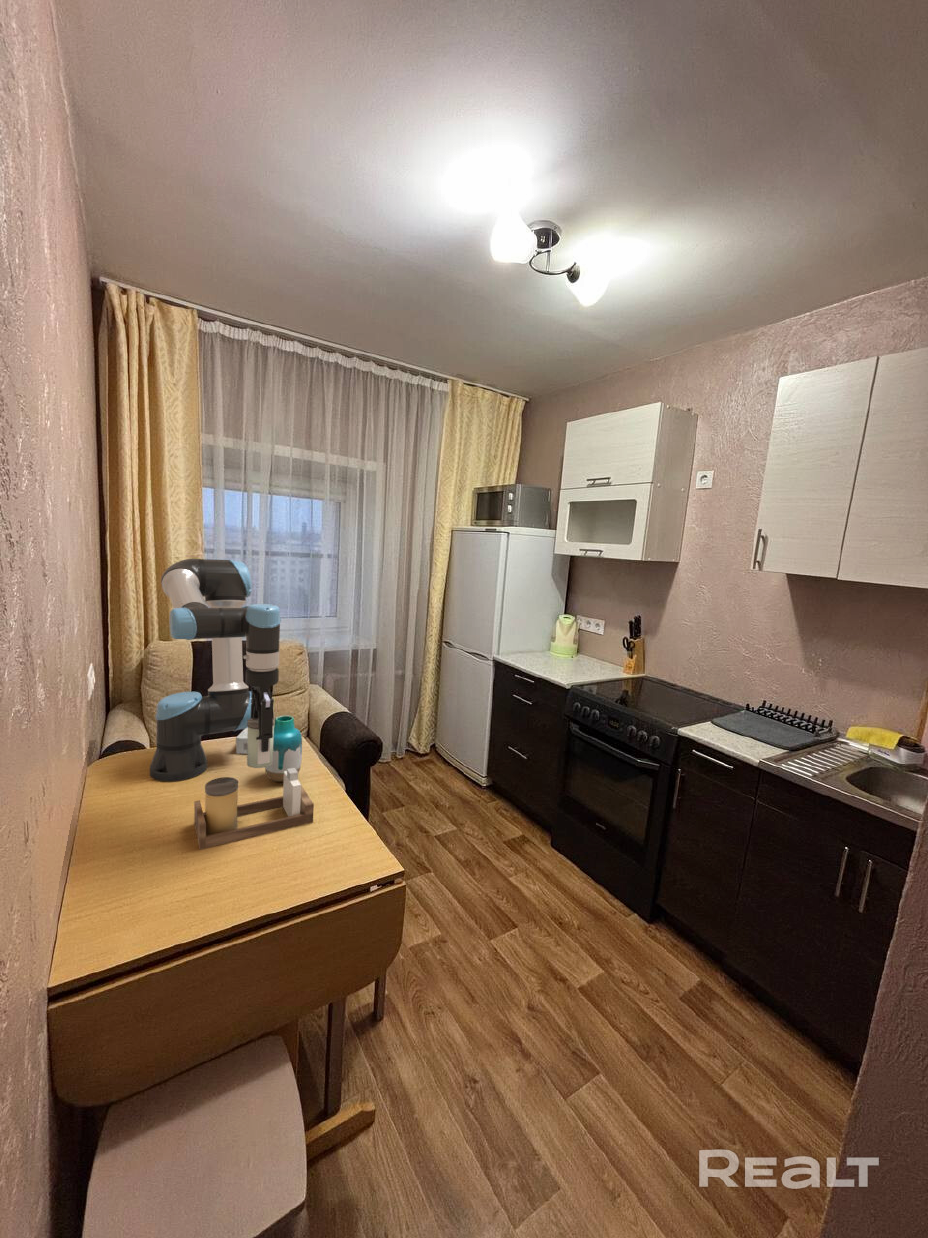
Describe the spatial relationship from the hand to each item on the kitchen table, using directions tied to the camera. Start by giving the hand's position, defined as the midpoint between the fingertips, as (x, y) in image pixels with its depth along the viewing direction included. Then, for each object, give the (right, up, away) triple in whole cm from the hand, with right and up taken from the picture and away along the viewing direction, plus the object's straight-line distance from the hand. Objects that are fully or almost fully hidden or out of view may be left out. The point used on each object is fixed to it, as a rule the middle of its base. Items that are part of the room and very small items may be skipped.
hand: (260, 757), depth 123 cm
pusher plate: (+5, -17, +7) cm, 19 cm away
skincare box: (-20, -8, +40) cm, 45 cm away
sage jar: (0, -1, 0) cm, 1 cm away
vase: (-4, -14, +26) cm, 30 cm away
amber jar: (-9, -17, -2) cm, 20 cm away
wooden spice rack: (-2, -17, +2) cm, 18 cm away
